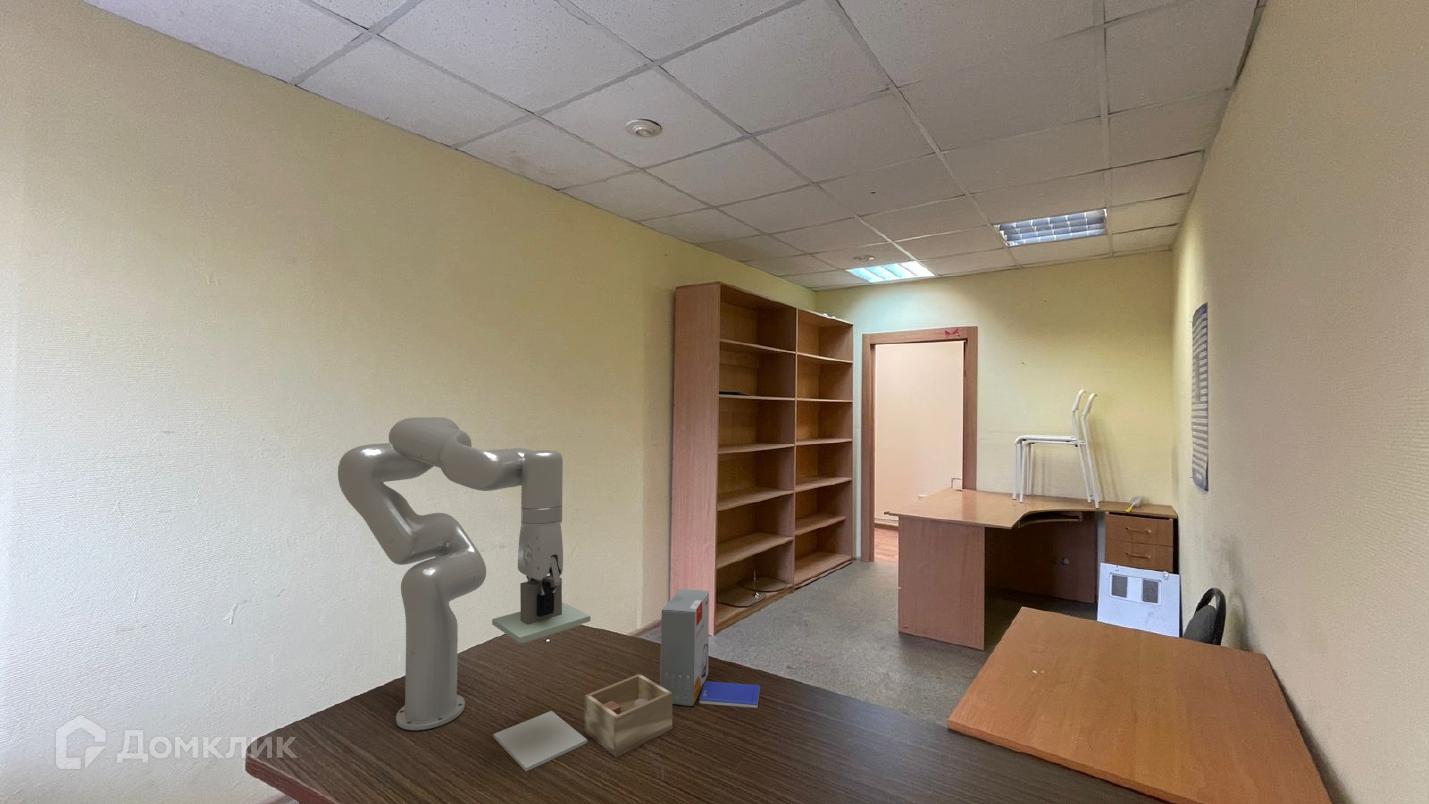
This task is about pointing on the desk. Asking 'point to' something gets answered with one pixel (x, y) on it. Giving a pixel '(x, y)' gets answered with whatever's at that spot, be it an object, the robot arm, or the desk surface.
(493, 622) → the lid
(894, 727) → the desk surface
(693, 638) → the hard drive box
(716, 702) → the hard drive
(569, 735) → the mat
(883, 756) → the desk surface
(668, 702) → the crate
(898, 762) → the desk surface
